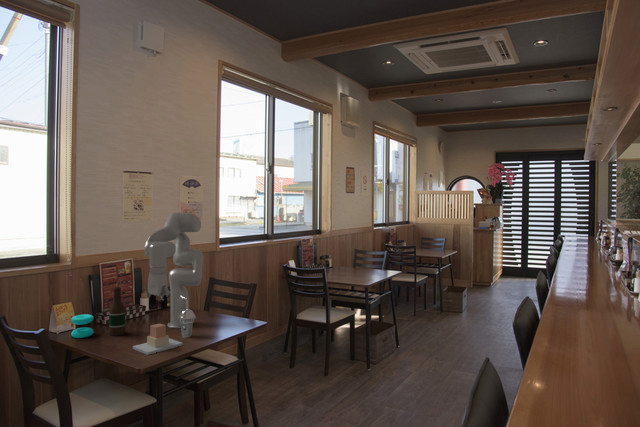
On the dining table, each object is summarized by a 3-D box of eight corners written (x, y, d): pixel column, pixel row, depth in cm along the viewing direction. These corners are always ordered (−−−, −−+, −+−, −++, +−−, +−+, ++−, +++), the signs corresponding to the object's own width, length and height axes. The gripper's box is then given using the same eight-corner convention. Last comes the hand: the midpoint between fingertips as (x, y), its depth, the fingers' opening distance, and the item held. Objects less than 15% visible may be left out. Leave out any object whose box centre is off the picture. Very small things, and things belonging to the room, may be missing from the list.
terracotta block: (159, 333, 216) (159, 323, 216) (165, 335, 213) (165, 325, 213) (150, 336, 212) (150, 325, 212) (156, 338, 209) (156, 327, 209)
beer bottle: (128, 332, 236) (128, 286, 235) (117, 336, 229) (117, 289, 228) (117, 331, 238) (116, 285, 238) (105, 335, 231) (105, 288, 231)
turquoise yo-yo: (89, 312, 237) (96, 316, 230) (89, 331, 237) (96, 335, 230) (68, 316, 229) (75, 319, 223) (68, 335, 230) (75, 340, 223)
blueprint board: (167, 340, 224) (167, 329, 224) (182, 345, 216) (182, 334, 216) (132, 348, 210) (132, 337, 210) (147, 354, 202) (147, 343, 202)
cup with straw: (179, 339, 225) (179, 299, 224) (176, 334, 233) (176, 296, 232) (197, 337, 229) (197, 297, 228) (193, 332, 237) (193, 294, 236)
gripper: (140, 269, 215) (141, 304, 216) (161, 273, 204) (161, 311, 205) (155, 267, 221) (155, 301, 221) (175, 271, 210) (175, 307, 210)
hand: (158, 306), depth 213 cm, fingers open, 9 cm apart
